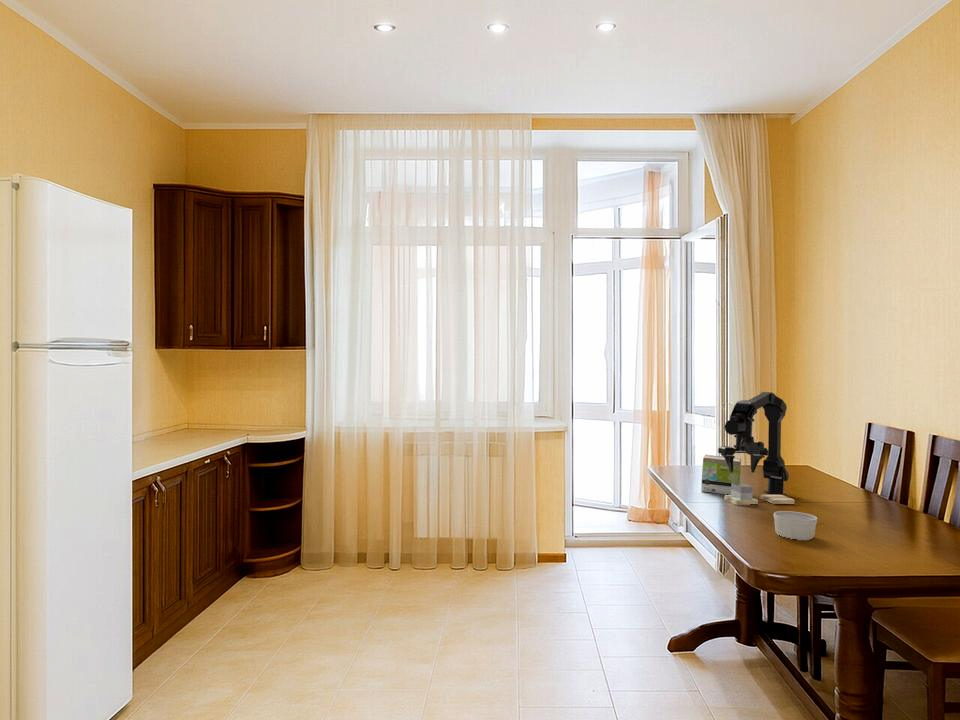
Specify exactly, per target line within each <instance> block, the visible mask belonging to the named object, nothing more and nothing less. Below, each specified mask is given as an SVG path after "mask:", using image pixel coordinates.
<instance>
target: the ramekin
mask: <svg viewBox="0 0 960 720" xmlns="http://www.w3.org/2000/svg"><path fill="white" fill-rule="evenodd" d="M773 518H774V530H775V533H776V534H777V536H779V535H780V536H782V537H781V538H783V537H786V538H785V539H787V538H790V539H789V540H792V539H797V540H796V541H802V540H803V541H810V539H811V540H812V539H813V538H814V536H815V533H816V527H817V523H818V517H817V516H815V515H813V514H810V513H805V512H802V511H801V512H799V511H794V510H793V511H791V510H779V511H775V512H773ZM780 536H779V537H780Z"/></svg>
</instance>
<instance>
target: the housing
mask: <svg viewBox="0 0 960 720" xmlns="http://www.w3.org/2000/svg"><path fill="white" fill-rule="evenodd" d="M753 488H754V486H751V485H748V483H747V484H746V483H744V482H740V483H731V496H733V497H735V498H738V499H740V500H751V499H752V498H753V490H754V489H753Z"/></svg>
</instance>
